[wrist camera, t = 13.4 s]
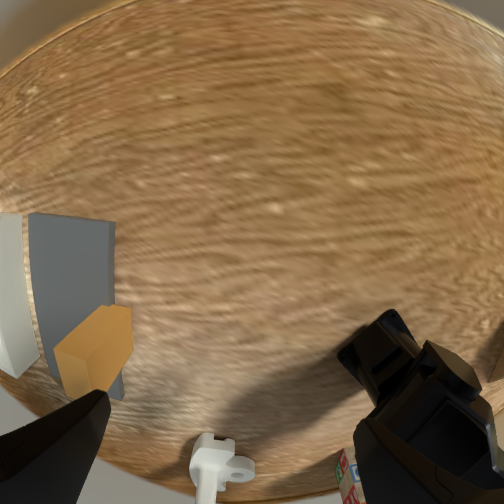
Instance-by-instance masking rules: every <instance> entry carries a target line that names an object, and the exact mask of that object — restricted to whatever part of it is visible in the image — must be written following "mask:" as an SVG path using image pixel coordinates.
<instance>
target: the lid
mask: <svg viewBox="0 0 504 504" xmlns="http://www.w3.org/2000/svg"><path fill="white" fill-rule="evenodd" d="M115 223H116V222H113V221H105V220H97V219H89V218H81V217H72V216H64V215H55V214H46V213H38V212H34V213H29V219H28V231H29V257H30V270H31V281H32V289H33V297H34V303H35V309H36V315H37V321H38V326H39V331H40V335H41V340H42V344H43V348H44V352H45V356H46V360H47V363H48V367H49V370H50V373H51V375H53V376H55V377H57V378H59V379H61V380H62V383H63V386H64V389H65V392H66V395H67V396H68V397H70V398H73V399H75V400H76V399H78V398H80V397H82V396H84V395H85V394H87V393H89V392H91V391H93V390H95V389H100V390H103V391H106V392H107V393H108V397H110V398H113V399H116V400H120V401H122V399H123V397H124V395H125V394H124V388H123V382H122V375H121V369H122V367H123V366H124V364H125V363H126V361H127V360H128V358H129V356H130V355H131V353H132V352H133V335H132V312H131V308H127V307H122V306H118V305H115V295H114V244H115Z"/></svg>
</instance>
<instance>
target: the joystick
mask: <svg viewBox="0 0 504 504" xmlns="http://www.w3.org/2000/svg"><path fill="white" fill-rule="evenodd" d="M234 455H235V441H234V440H233V439H228V438H226V439H225V440H224V441H220V440H214V434H213V433H202V434H201V435H200V436H199V437H198V439H197V441H196V442H195V444H194V447H193V450H192V456H191V461H190V467H189V471H190V476H191V479H192V481H193V483H194V484H195V486H196V487H197V489H196V498H195V504H215V501H216V492H217V491H225V490H226V481H231V482H247V481H250V480H252V479H253V478H254V477H255V463H254V461H252V460H251V459H249V458H247V457H245V456H238V455H236V456H234Z"/></svg>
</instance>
